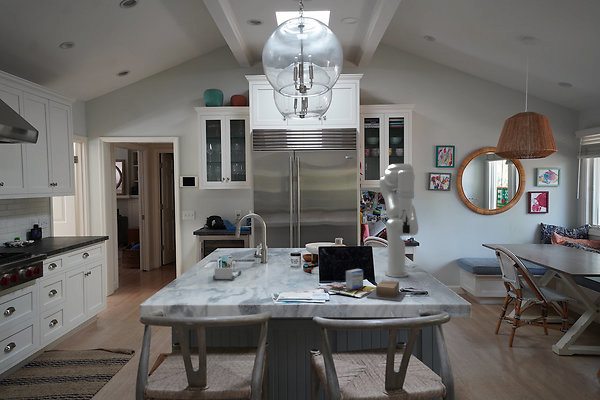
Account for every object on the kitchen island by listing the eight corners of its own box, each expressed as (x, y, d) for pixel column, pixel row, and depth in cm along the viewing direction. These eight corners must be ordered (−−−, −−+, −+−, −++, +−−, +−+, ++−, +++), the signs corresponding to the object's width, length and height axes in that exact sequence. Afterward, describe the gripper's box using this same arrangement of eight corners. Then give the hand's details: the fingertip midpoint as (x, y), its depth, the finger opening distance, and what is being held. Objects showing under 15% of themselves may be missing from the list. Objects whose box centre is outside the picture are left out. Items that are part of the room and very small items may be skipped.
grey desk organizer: (223, 257, 235) (242, 257, 233) (223, 273, 235) (242, 274, 234) (212, 263, 217) (232, 263, 215) (212, 281, 217) (233, 281, 216)
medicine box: (351, 289, 194) (351, 272, 194) (345, 287, 198) (345, 270, 198) (363, 286, 199) (363, 269, 199) (357, 285, 203) (357, 268, 202)
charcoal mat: (374, 290, 192) (374, 289, 192) (406, 293, 186) (406, 292, 186) (366, 298, 180) (366, 296, 180) (400, 301, 173) (400, 300, 173)
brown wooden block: (382, 280, 192) (376, 286, 181) (398, 281, 189) (393, 287, 178) (382, 289, 192) (376, 295, 181) (399, 290, 189) (393, 297, 178)
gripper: (401, 195, 202) (401, 231, 203) (395, 196, 188) (395, 234, 189) (416, 195, 199) (416, 231, 200) (411, 196, 185) (411, 235, 186)
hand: (406, 233), depth 194 cm, fingers closed
